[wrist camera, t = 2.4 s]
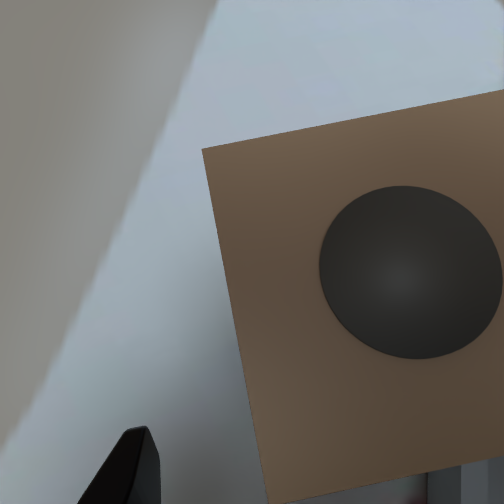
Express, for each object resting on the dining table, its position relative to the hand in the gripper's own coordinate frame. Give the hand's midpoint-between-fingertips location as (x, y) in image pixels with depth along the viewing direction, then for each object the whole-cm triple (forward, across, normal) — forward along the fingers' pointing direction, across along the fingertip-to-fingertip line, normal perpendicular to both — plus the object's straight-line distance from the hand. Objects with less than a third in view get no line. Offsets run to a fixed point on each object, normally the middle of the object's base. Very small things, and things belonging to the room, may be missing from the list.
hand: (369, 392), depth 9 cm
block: (+7, 0, +5) cm, 9 cm away
